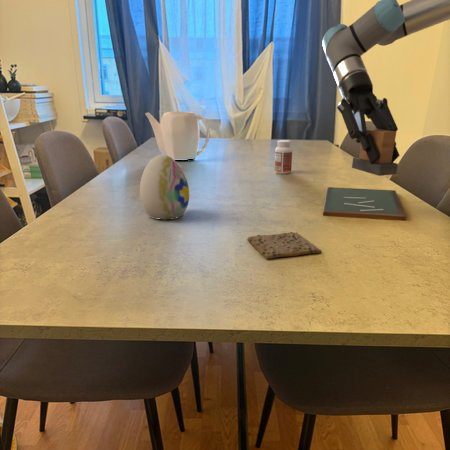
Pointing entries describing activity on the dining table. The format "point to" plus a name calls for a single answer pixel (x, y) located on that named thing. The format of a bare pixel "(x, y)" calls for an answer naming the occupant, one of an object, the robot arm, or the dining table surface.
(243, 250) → the dining table surface
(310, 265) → the dining table surface
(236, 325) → the dining table surface
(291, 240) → the cookie
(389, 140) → the eraser
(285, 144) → the pill bottle
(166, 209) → the decorative egg
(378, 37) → the robot arm
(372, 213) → the chalkboard
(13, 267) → the dining table surface
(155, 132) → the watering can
